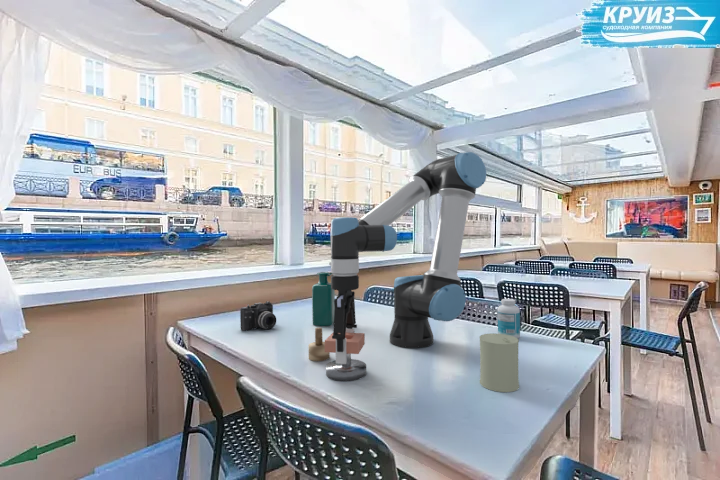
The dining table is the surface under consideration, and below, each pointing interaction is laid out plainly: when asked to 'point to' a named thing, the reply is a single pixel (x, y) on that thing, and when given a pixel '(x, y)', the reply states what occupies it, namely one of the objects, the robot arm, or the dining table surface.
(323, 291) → the green bottle
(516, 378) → the can
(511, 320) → the pill bottle
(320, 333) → the stand
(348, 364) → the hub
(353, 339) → the terracotta clay block
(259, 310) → the camera
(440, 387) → the dining table surface
